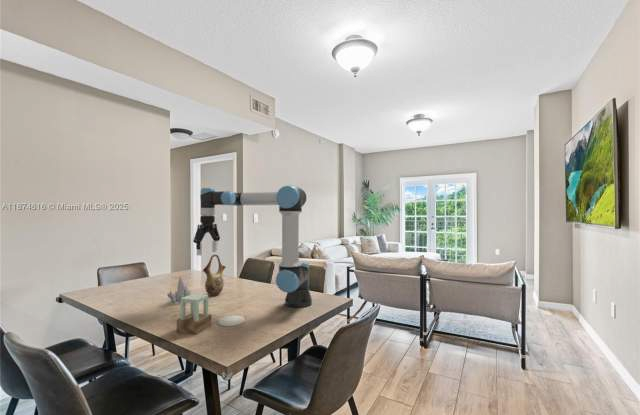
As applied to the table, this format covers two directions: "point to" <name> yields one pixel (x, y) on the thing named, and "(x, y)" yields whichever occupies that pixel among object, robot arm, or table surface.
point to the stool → (194, 305)
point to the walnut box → (193, 324)
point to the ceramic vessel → (214, 278)
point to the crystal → (178, 293)
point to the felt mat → (231, 321)
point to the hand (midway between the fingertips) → (207, 253)
